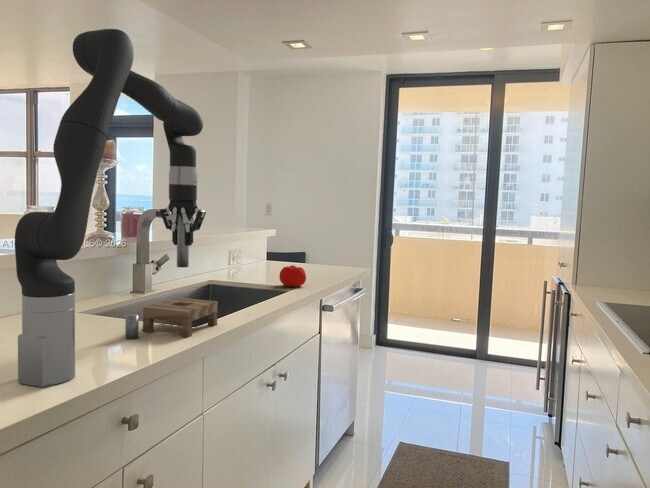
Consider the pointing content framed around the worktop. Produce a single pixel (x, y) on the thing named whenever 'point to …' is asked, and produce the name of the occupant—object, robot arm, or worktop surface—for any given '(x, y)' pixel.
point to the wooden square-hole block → (180, 313)
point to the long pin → (181, 243)
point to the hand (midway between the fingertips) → (182, 244)
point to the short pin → (131, 326)
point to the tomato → (292, 276)
